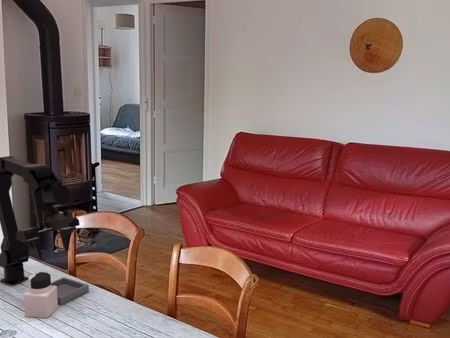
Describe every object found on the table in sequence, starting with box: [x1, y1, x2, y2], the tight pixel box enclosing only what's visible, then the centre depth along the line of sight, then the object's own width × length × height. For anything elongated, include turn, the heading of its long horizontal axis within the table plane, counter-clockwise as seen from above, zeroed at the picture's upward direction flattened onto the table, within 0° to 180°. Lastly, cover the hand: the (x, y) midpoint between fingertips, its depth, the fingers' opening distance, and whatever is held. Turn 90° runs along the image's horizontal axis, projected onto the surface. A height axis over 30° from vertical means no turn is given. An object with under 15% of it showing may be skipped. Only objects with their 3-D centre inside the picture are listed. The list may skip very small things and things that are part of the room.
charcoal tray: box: [51, 276, 90, 307], centre depth 161 cm, size 12×12×2 cm
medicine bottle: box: [23, 271, 59, 319], centre depth 149 cm, size 7×7×12 cm
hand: (54, 255), depth 154 cm, fingers open, 9 cm apart
